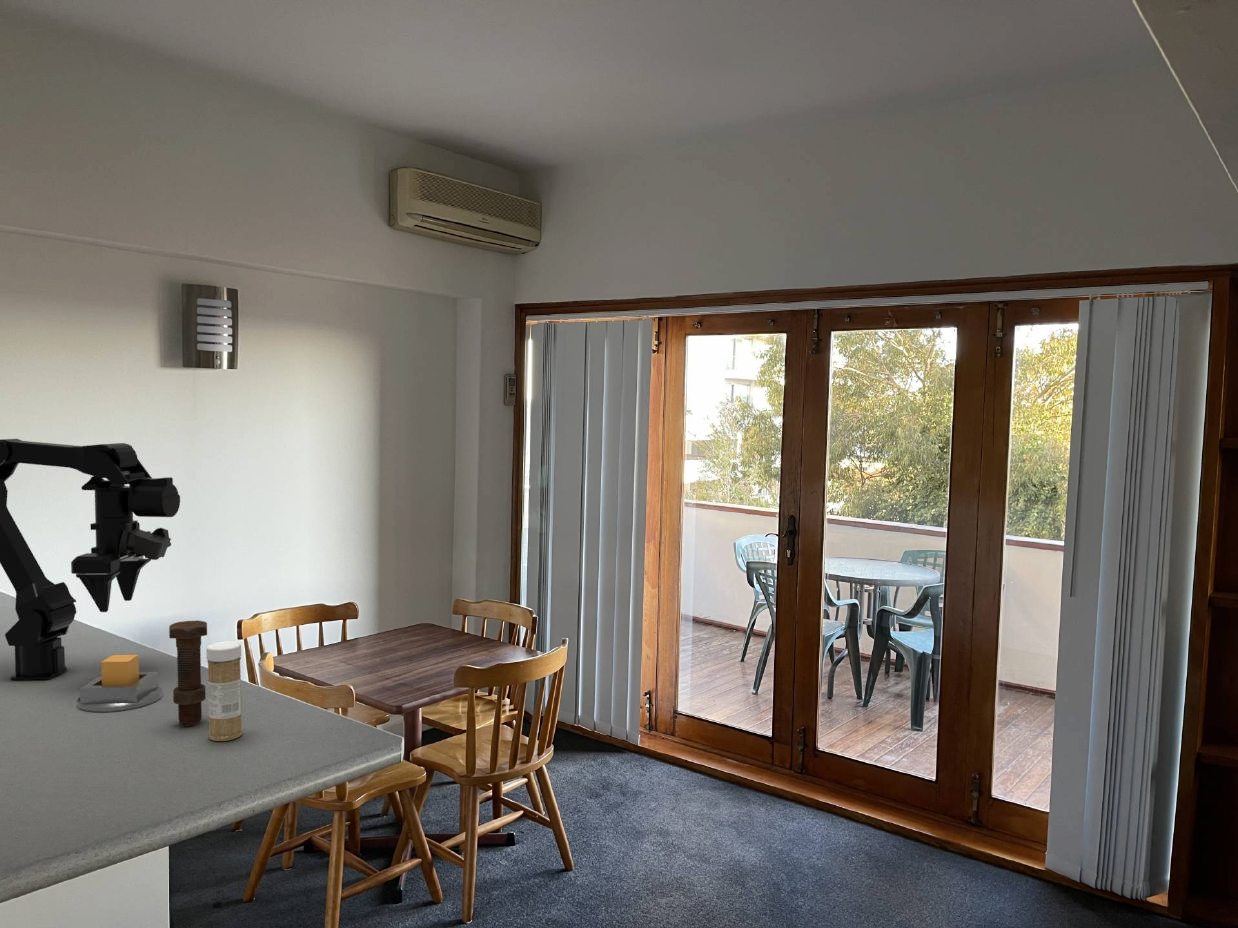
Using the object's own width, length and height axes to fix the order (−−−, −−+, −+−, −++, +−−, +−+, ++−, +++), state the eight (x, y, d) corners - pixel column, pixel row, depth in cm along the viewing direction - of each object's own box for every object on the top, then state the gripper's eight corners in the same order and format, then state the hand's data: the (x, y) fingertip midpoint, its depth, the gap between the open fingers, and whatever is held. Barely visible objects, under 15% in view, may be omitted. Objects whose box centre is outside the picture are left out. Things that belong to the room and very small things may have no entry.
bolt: (217, 718, 140) (216, 620, 139) (199, 730, 135) (197, 628, 134) (181, 717, 141) (179, 619, 140) (161, 728, 136) (159, 627, 135)
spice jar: (241, 729, 136) (240, 638, 135) (243, 739, 131) (242, 646, 131) (207, 733, 134) (205, 642, 133) (208, 744, 129) (206, 649, 129)
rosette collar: (62, 712, 142) (61, 691, 142) (99, 689, 154) (98, 669, 154) (144, 711, 143) (143, 690, 143) (174, 688, 155) (173, 668, 155)
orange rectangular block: (102, 699, 146) (101, 661, 146) (113, 691, 150) (112, 655, 150) (128, 698, 147) (127, 661, 146) (139, 691, 151) (138, 654, 150)
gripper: (140, 523, 151) (142, 617, 151) (183, 510, 169) (185, 594, 170) (68, 523, 150) (70, 618, 150) (119, 510, 168) (121, 595, 169)
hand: (116, 606), depth 160 cm, fingers open, 9 cm apart
